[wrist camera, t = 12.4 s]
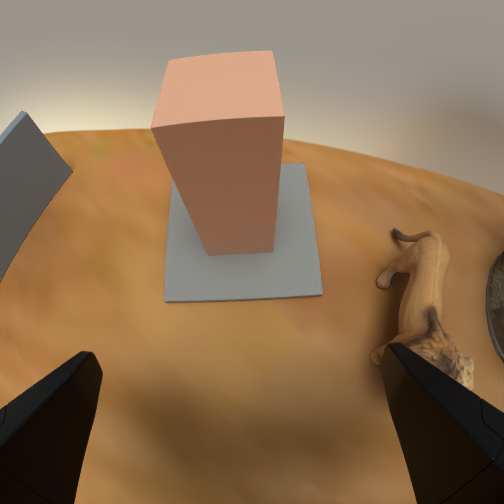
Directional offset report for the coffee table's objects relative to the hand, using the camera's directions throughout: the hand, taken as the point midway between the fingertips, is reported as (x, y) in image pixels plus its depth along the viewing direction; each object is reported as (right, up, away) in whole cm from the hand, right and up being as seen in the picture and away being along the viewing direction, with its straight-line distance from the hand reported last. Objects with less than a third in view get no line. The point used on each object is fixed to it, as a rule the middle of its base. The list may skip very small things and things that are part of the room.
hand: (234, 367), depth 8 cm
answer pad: (0, +5, +17) cm, 17 cm away
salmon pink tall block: (0, +5, +16) cm, 17 cm away
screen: (-25, +4, +17) cm, 31 cm away
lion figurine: (+12, -2, +13) cm, 19 cm away
